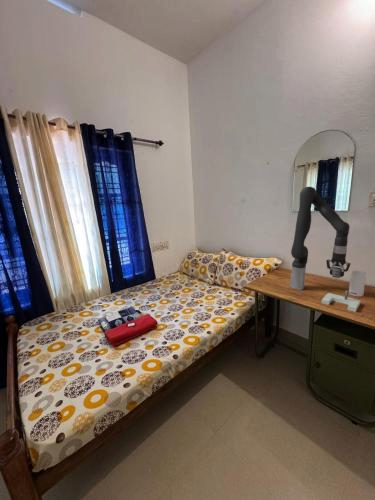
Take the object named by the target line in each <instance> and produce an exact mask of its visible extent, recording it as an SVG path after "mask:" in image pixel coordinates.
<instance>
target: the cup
mask: <svg viewBox="0 0 375 500" xmlns="http://www.w3.org/2000/svg"><path fill="white" fill-rule="evenodd" d="M366 276H367V272H366V271H363V270H358V269H357V270H355V269H354V270H351V271H350V276H349V278H350V280H349V287H348V291H349V292H353V293H357V294H356V295H355V294H350V293H348V295H351V296H353V297H354V296H355V297H363V296H364V293H365V285H366Z"/></svg>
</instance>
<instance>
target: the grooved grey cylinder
mask: <svg viewBox="0 0 375 500" xmlns="http://www.w3.org/2000/svg"><path fill="white" fill-rule="evenodd" d="M332 270H333V271H332V275H331V277H333V278H334V279H335V278H336V279H340V278H342V277H341V272H342V270H341V268H340V267H338V266H334V267H333V269H332Z"/></svg>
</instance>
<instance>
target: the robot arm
mask: <svg viewBox="0 0 375 500" xmlns="http://www.w3.org/2000/svg"><path fill="white" fill-rule="evenodd" d="M312 205H313V206H314V207H315V209H317V211H318V212H319V213H320V215H321V216H322V217H323V218H324V219H325V220H326V221H327V222H328V223H329V224H330V225H331V226H332V227H333V229H334V230H335V238H334V241H333V242H334V244H333V249H332V256H331V259H329V258H328V259H326V261H325V262H326V267H327V269H328V270H329V274H330V275H331V276H332V271H333V270H332V269H333V267H338V268H341V270H342V272H341V278H342V277H344V276H345V272H347V273H348V271H349V270H350V267H351V264H352V263H351V262H347V260H346V258H347V251H348V241H349V240H348V239H349V233H350V232H349V231H350V224H349V223H348V222H346V221H344V220H343V219H342V218H341V217H340V215H339V214H338V213H337V212H336V211H335V210H334V209H333V208H332V207H331V206H330V205H329V204H328V203H326V201H325V200H324V199H323V198H322V197H321V196H320V193H319V192H317V189H316V188H315V187H313V186H305V187H303V188H302V189H301V191H300V193H299V207H298V213H297V217H296V223H295V232H294V238H293V239H294V240H293V243H292V247H291V250H290V254H291V256H292V258H293V259H294V260H293V261H292V265H291V275H290V277H289V278H290V279H289V280H290V281H289V288H290V289H293V290H297V291H302V290H304V289H305V281H306V270H307V269H306V266H307V264H308V258H309V249H308V247H307V246H306V245H305V242H306V241H305V240H306V239H307V236H308V235H309V232H310V229H311V224H312ZM331 263H332V265H331ZM344 265H345V266H346V268H345V267H344Z"/></svg>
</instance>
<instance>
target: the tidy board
mask: <svg viewBox="0 0 375 500" xmlns="http://www.w3.org/2000/svg"><path fill="white" fill-rule="evenodd" d="M349 293H350V294H349ZM351 294H355V295H356V294H357V293H353V292H349V289H347V290H345V292H344V296H343V295H340V294H334V293H330V292H327V294H325V296H324V297H323V298H322V299H321V304H322V305H323V304H324V305H327V306H328V305H330V304H331V303H332V302H337V303H340V304H344V305H347V311H351V312H353V313H356V312H357V310H358V308H359V306H361V299H355V298H352V297H348V295H351Z"/></svg>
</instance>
